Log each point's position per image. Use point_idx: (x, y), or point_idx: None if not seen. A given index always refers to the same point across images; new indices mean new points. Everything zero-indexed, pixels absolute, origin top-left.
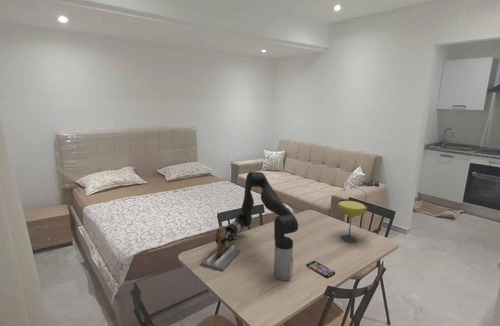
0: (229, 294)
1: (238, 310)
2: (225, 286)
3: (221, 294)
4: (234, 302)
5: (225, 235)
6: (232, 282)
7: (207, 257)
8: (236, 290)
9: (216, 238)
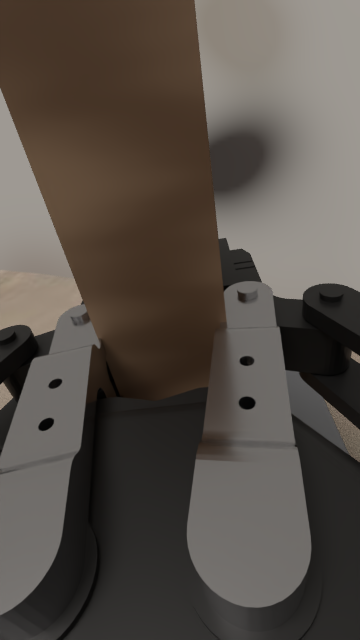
0: (42, 292)
1: (5, 272)
2: (67, 307)
3: (72, 282)
4: (19, 282)
5: (91, 302)
6: (38, 333)
7: (311, 394)
8: (15, 312)
9: (248, 264)
